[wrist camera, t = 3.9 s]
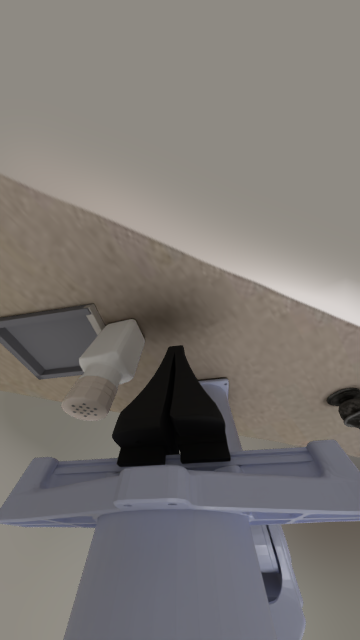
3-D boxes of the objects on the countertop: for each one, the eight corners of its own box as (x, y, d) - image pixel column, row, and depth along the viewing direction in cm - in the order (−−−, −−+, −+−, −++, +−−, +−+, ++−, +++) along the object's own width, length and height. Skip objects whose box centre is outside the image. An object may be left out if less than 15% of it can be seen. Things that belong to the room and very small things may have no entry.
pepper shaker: (120, 346, 19) (77, 426, 11) (105, 322, 17) (40, 398, 9) (147, 341, 19) (122, 420, 11) (135, 316, 17) (94, 390, 9)
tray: (124, 363, 21) (121, 370, 20) (45, 372, 22) (38, 379, 21) (93, 303, 16) (88, 308, 15) (-7, 318, 17) (-19, 324, 16)
